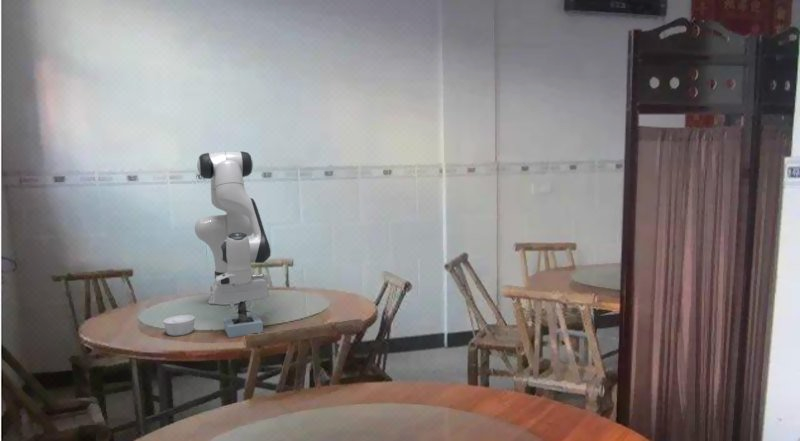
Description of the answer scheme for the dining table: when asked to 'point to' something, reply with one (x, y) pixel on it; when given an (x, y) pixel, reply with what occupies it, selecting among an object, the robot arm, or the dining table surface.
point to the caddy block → (243, 326)
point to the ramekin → (179, 325)
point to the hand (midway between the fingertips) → (242, 312)
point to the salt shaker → (242, 313)
